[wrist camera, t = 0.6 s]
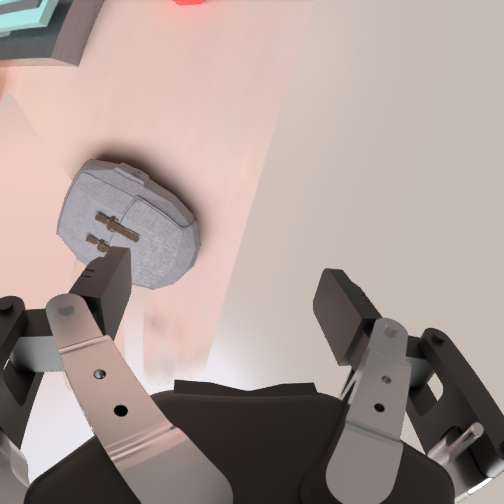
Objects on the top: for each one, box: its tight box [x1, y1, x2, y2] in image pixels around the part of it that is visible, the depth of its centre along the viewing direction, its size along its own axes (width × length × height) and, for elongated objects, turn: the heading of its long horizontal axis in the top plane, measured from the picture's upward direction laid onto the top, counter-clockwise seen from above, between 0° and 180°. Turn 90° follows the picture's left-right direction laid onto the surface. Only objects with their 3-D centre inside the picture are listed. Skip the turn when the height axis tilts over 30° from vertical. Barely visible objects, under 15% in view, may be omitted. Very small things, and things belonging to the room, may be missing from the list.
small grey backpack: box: [57, 159, 201, 290], centre depth 35 cm, size 15×8×20 cm
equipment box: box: [0, 0, 104, 67], centre depth 18 cm, size 16×19×10 cm
